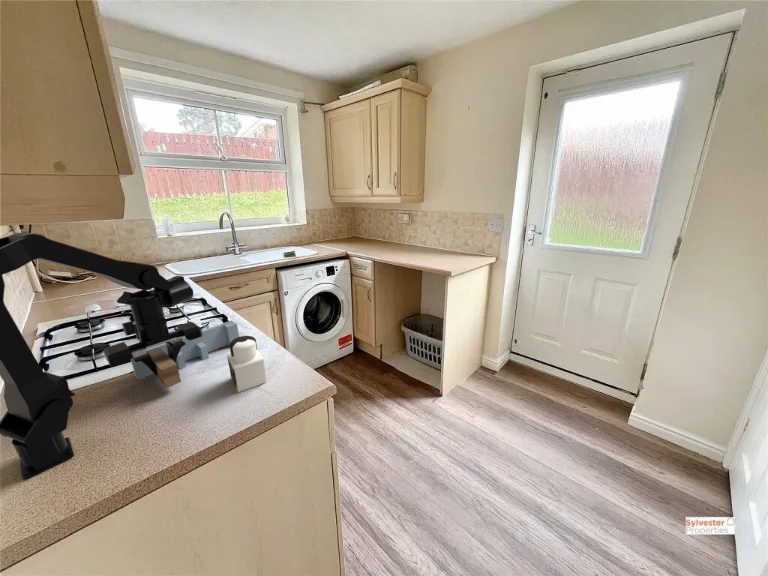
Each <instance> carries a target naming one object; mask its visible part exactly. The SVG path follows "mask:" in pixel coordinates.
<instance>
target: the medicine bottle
mask: <svg viewBox="0 0 768 576" xmlns="http://www.w3.org/2000/svg"><path fill="white" fill-rule="evenodd" d="M229 346H230V347H229ZM229 346H228V347H229V350H230V354H228V355H227V362H228V363H227V364H228V368H229V372H230V377H231V380H232V383H233V385H234V387H235V390H236V391H237V393H240V392H243V391H246V390H249V389H252V388H254V387H257V386H259V385H262V384H265V383H267V382H268V380H267V373H266V365H265V360H264V359H265V358H264V357H263V356H262V354H261V352H260V351H259V350H258V347H257V346H258V344H257V339H256V338H255V337H254V336H252V335H241V336H239V337H238V338H235V339H233V340H232V341H231V342H230V344H229Z"/></svg>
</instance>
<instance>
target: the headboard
mask: <svg viewBox="0 0 768 576" xmlns="http://www.w3.org/2000/svg"><path fill="white" fill-rule="evenodd" d="M201 331H202V336H201V337H199V338H196V339H194V340H191V341H190V340H187V339H186V338H185V336H184V337H183V339H182V340H183V341H184V342H185V345H184V346H182V347H181V350H180V352H179V354H178V357H177V360H176V364H177V367H178V370H181V369H184V368H186V367H187V365H186V362H188V361H189V360H193V359H194V358H197V357H199V358H200V359H201V360H202V361H203V360H206V359H208V358H209V353H210V352H212V351H216V350H219V349H220V348H224V347H226V346H227V347H229V348H230V346H229V344H230V342H231V341H232V340H233V339H235V338H238V337H240V334H239V327H238V323H236V322H235V321H233V320H229V321H227V322H223V323H220V324H216V325H215V326H211V327H207V328H206V329H205V328H204V329H201ZM157 348H161V349H162V350H163V351H164V352H165V353H166V354H167V355H168V350H167V346H166V343H162V344H159V345H156V346H153V347H150V348H147V349H146V351H147V352H148V351H151V350H154V349H157ZM130 362H131V365H132V368H133V372H134V375H135V378H136V380H141V379H144V378H146V377H149V376H151V375H155V374H154V373H153V372H152V371H151V370H150V368H149V367H148V366H147V365H145V364H144V363H143V362H142V361H139V362H135V361H134V360H133V359H131V360H130Z"/></svg>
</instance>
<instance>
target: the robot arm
mask: <svg viewBox="0 0 768 576" xmlns="http://www.w3.org/2000/svg"><path fill="white" fill-rule="evenodd" d="M35 260H39V261H44V262H48V263H52V264H56V265H60V266H63V267H66V268H72V269H76V270H79V271H83V272H87V273H90V274H91V273H92V274H95V275H97V276H100V277H103V278H105V279H106V280H108V281H109V282H112V283H114V284H117V285H119V286H122V287H123V288H131V289H136V290H138V291H135V292H130V291H123V293H122V294H121V296H120V297H118V299H117V300H116V303H117V304H122V305H127V306H129V307H130V310H131V314H132V317H133V321H134V322H133V321H130V320H129V321H128V322H127V321H126V322H122V323H121V325H122V329H123V332H124V335H125V336H131V335H135V336H136V340H138V341H140V342H136V343H133V344H130V345H128V344H127V343H126V342H125V341H122V342H119V343H116V344H112V345H110V346H106V347H104V349H103V355H104V357H105V360H106V361H107V363H108V364H109V366H110V367H111V368H112V367H114V368H115V367H118V366H121V365H123V364H127V363H129V362H131V359H133V360H134V361H135V362H139V361H142V362H143V363H144V364H145V365H147V366H148V367H149V368H150V370H151V371H152V372H153V373H154V374H153V375H154V376H156V377H157V370H156V368H155V365H154V363H153V361H152V358H151V356H150V355H149V354H148V353H147V351H146V349H148V348H151V347H154V346H157V345H160V344H163V343H166V346H167V350H168V356H169V357H170V358H171V359H172V360H173V361H174V362H175V363H176V360H177V357H178V354H179V352H180V350H181V347H182V346H184V345H185V342H184V341H183V340H182V339H183V337H184V336H185V338H186V339H187V340H190V341H191V340H194V339H196V338H199V337H201V336H202V328H201V326H200V325H198V324H196V323H195V322H193V321H188V322H185V323H182V324H178V325H177V326H176V330H174V331H173V330H172V331H170V332H169V327H168V322H167V319H166V315H165V312H164V308H167V309H170V308H173V307H175V306H177V305H180V304H183V303H184V302H187V301H190V300H192V299H193V297H194V288H192V286H191V285H190V283H189V282H187V281H186V280H185V277H184V276H183V275H174V276H173V277H171V278H168V279H166V278H165V277H164V276H162V274H160V272H159V269H158V268H157V267H156V266H154V265H152V264H146V263H141V262H134V261H127V260H119V259H115V258H111V257H108V256H106V255H103V254H99V253H94V252H92V251H90V250H89V251H88V250H85V249H83V248H80V247H76V246H72V245H69V244H67V243H62V242H60V241H57V240H53V239H50V238H48V237H46V236H44V235H42V234H37V233H30V232H16V233H15V232H14V233H13V234H11V235H8V236H4V237H0V378H1V379H2V381H3V382H4V391H3V399H4V403H5V405H6V409H7V410H6V412H5V414H4V415H3V417H2V418H1V420H0V435H1V436H2V437H5V438H6V437H7V438H10V439H11V440H12V441H11V444H12V445H13V447H14V449H15V451H16V454H17V455H18V458H19V459H20V460H19V462H20V468H21V477H22V478H21V479H23V480H27V479H29V478H31V477H33V476H36V475H38V474H40V473H42V472H44V471H47V470H49V469H51V468H53V467H55V466H57V465H59V464H61V463H63V462H66V461H67V460H70V459H72V458H73V457H74V456H75V452H74V449H73V446H72V442H71V440H70V437H65V436H64V434H63V432H64V431H65V430H66V429H67V428H68V419H69V412H70V410H71V408H73V407H74V402H73V401H74V400H73V398H72V397H73V396H75V395H76V393H74V392H72V390H71V389H70V387H69V383H68V380H67V378H66V377H64V376H60V375H57V374H53V373H50V372H46V371H43V369H42V367H41V366H40V364H39V362H38V361H37V359H36V357H35V355H34V353H33V352H32V350H31V348H30V346H29V344H28V343H27V341H26V340H25V339H26V338H24V336H23V335H22V333H21V330H20V329H19V326H18V325H17V324H16V321H15V320H14V318H13V316H12V314H11V313H10V311H9V310H8V308H7V306H6V304H5V301H4V299H5V289H6V285H5V281H4V277H3V275H6V274H9V273H11V272H14V271H16V270H19V269H20V268H21V267H24V266H25V265H27V264H29V263H31V262H33V261H35ZM163 307H164V308H163Z"/></svg>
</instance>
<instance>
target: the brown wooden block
mask: <svg viewBox="0 0 768 576" xmlns="http://www.w3.org/2000/svg"><path fill="white" fill-rule="evenodd" d="M147 353H148V354H149V355H150V356H151V358H152V361H153V363H154V365H155V368H156V370H157V376H156V377H157V379H158V381H160V382H161V384H162V385H163V386H164V387H165V388H166V389H168V388H170V387H172V386H175V385H178V384H179V383H182V380H181V376H180V372H179V368H178V367H177V364H176V363H175V362H174V361H173V360H172V359H171V358H170V357H169V356H168V355H167V354H166V353H165V352H164V351H163V350H162V349H161V348H157V349H154V350H151V351H148V352H147Z"/></svg>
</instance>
